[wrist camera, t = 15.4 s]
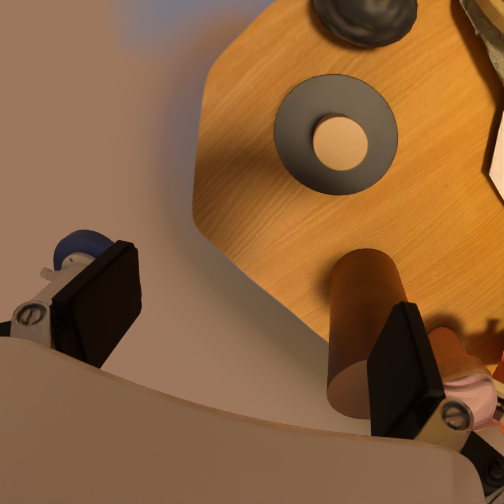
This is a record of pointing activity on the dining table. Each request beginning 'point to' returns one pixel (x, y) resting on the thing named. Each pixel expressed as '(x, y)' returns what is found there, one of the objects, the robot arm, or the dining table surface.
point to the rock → (487, 35)
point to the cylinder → (358, 324)
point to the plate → (498, 160)
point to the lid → (335, 134)
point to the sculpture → (493, 12)
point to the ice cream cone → (464, 377)
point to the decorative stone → (367, 20)
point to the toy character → (499, 394)
